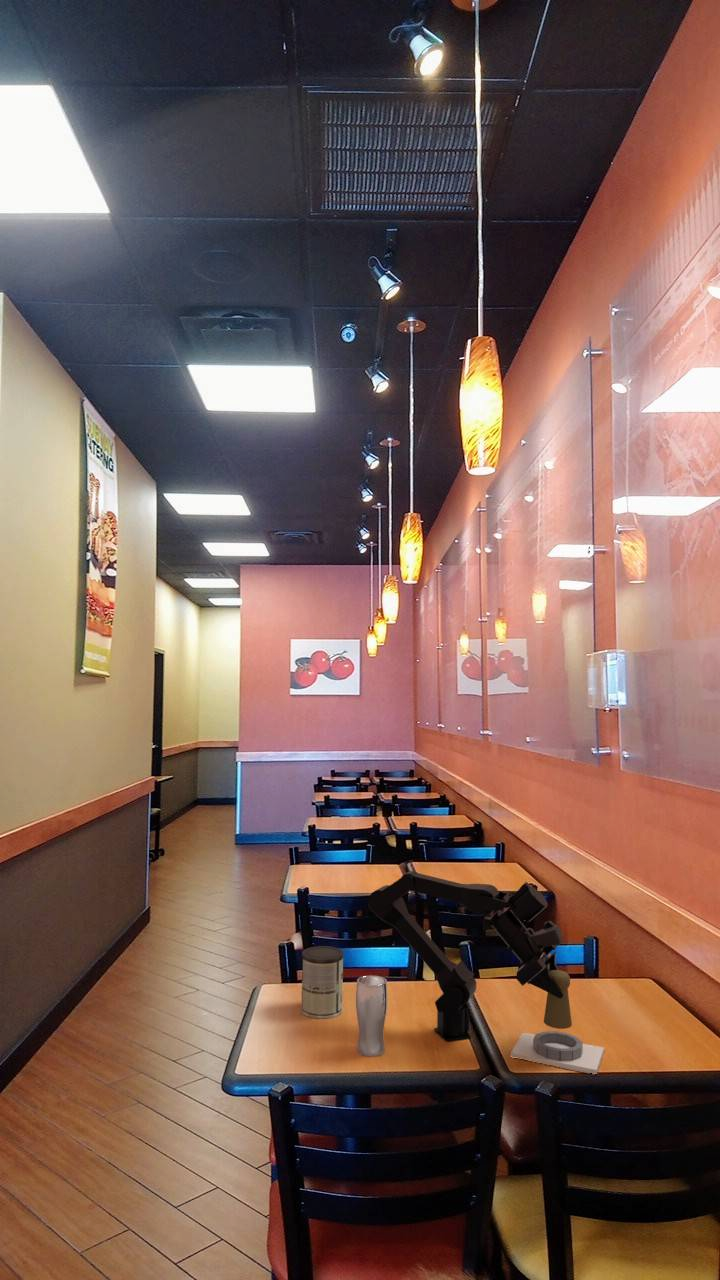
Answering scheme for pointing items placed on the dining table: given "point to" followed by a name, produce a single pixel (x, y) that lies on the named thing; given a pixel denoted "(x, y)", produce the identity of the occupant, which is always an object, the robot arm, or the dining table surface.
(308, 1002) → the coffee can
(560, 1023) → the olive brown pawn
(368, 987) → the beer glass
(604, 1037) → the dining table surface
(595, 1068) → the dock
